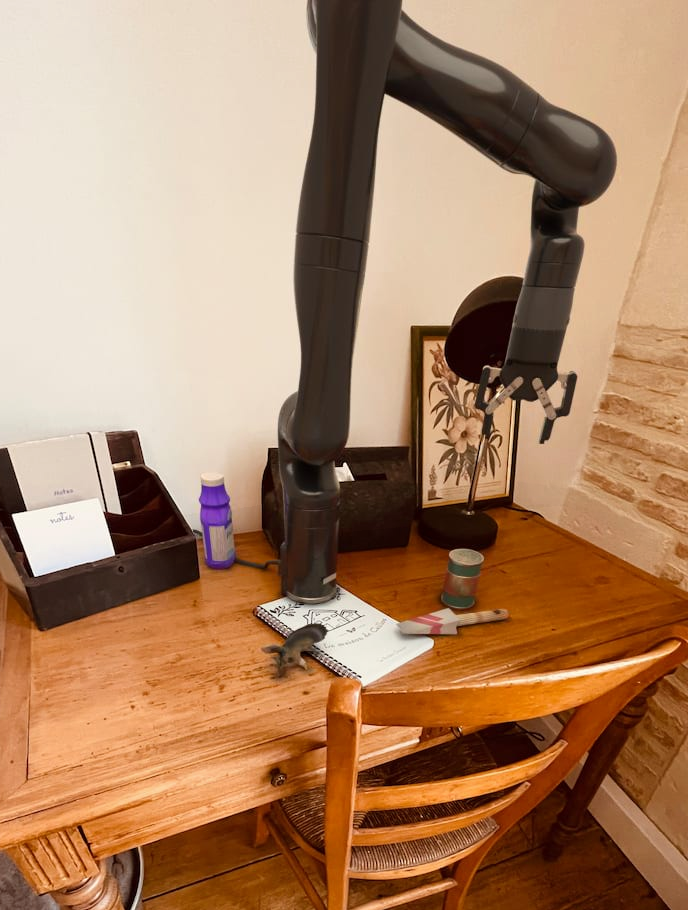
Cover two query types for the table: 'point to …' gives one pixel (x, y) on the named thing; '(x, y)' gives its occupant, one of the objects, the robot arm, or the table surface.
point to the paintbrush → (448, 621)
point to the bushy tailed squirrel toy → (296, 646)
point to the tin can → (461, 579)
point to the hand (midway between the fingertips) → (513, 440)
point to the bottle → (216, 521)
